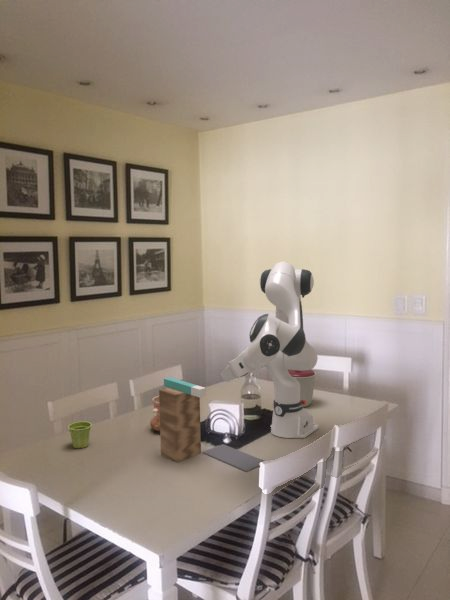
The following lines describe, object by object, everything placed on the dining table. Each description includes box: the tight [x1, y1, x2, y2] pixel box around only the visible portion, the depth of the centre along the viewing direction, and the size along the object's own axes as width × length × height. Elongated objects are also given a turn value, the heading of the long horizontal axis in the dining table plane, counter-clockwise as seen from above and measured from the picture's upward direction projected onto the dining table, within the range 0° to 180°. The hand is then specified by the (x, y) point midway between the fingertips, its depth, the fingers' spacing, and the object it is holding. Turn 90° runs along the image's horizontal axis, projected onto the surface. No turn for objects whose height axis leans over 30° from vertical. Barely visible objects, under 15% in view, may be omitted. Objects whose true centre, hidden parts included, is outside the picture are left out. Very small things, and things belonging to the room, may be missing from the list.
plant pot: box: [67, 421, 93, 449], centre depth 206 cm, size 9×9×9 cm
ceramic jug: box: [149, 395, 160, 433], centre depth 223 cm, size 18×14×14 cm
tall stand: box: [158, 387, 202, 463], centre depth 195 cm, size 12×10×26 cm
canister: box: [287, 369, 317, 408], centre depth 255 cm, size 18×18×21 cm
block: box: [163, 376, 207, 398], centre depth 191 cm, size 3×22×3 cm, turn 43°
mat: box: [202, 443, 265, 473], centre depth 192 cm, size 11×24×1 cm, turn 43°
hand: (240, 369), depth 187 cm, fingers open, 8 cm apart
